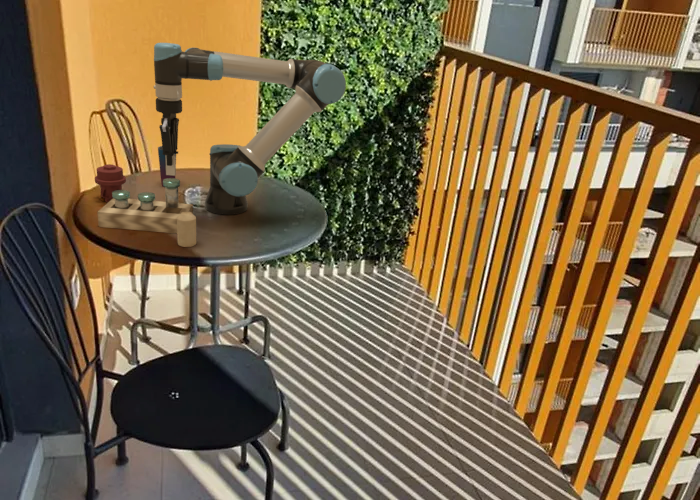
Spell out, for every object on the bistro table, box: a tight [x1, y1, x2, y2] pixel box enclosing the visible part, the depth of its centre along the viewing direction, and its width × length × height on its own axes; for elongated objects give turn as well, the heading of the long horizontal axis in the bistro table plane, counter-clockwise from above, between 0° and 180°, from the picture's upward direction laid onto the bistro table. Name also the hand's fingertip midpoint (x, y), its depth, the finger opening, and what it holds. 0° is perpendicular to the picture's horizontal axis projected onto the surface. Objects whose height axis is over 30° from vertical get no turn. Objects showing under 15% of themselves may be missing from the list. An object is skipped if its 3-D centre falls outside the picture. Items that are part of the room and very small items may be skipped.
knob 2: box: [162, 177, 181, 208], centre depth 173 cm, size 5×5×8 cm
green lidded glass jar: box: [137, 191, 156, 212], centre depth 174 cm, size 5×5×8 cm
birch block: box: [97, 198, 194, 234], centre depth 175 cm, size 26×14×5 cm, turn 92°
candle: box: [176, 212, 197, 248], centre depth 163 cm, size 6×6×10 cm
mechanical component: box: [94, 164, 127, 203], centre depth 189 cm, size 12×10×10 cm
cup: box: [157, 145, 176, 188], centre depth 209 cm, size 7×7×15 cm
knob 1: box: [112, 189, 131, 209], centre depth 174 cm, size 5×5×8 cm
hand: (171, 174), depth 170 cm, fingers closed
